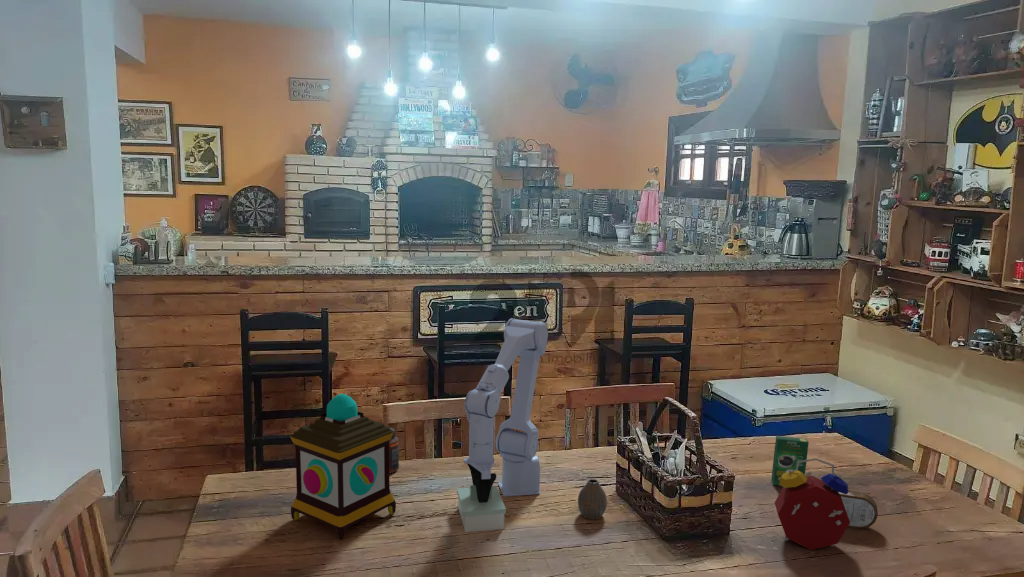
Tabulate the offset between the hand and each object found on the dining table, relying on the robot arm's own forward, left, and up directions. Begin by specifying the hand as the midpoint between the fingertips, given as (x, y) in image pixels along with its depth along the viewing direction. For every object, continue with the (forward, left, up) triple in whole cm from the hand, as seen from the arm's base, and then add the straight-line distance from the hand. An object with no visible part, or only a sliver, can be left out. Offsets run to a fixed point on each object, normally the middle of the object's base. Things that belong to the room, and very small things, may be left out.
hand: (480, 495), depth 169 cm
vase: (-26, +3, -6) cm, 27 cm away
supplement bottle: (+20, -32, -6) cm, 38 cm away
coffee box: (-84, -5, -6) cm, 84 cm away
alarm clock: (-70, +25, -6) cm, 74 cm away
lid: (0, 0, -2) cm, 2 cm away
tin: (-84, +17, -6) cm, 85 cm away
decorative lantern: (+32, -6, -6) cm, 33 cm away
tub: (0, 0, -6) cm, 6 cm away
